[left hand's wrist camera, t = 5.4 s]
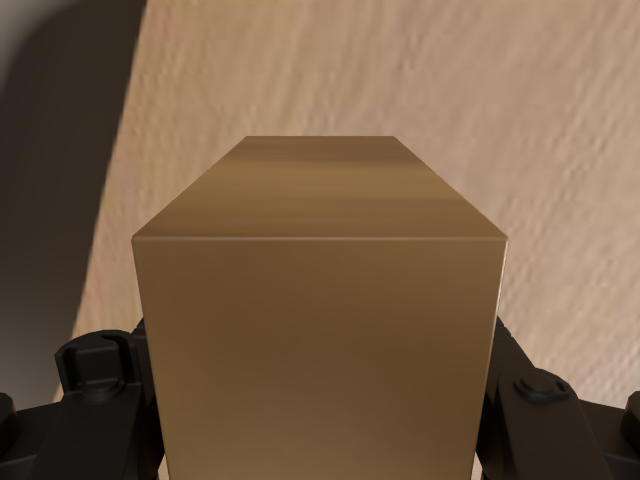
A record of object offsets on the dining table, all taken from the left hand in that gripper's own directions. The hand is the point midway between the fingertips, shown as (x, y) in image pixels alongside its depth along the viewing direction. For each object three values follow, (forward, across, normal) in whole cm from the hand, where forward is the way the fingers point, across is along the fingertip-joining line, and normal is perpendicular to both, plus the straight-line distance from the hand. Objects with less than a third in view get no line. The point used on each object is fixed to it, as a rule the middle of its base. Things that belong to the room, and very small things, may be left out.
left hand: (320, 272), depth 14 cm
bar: (+1, 0, -9) cm, 9 cm away
